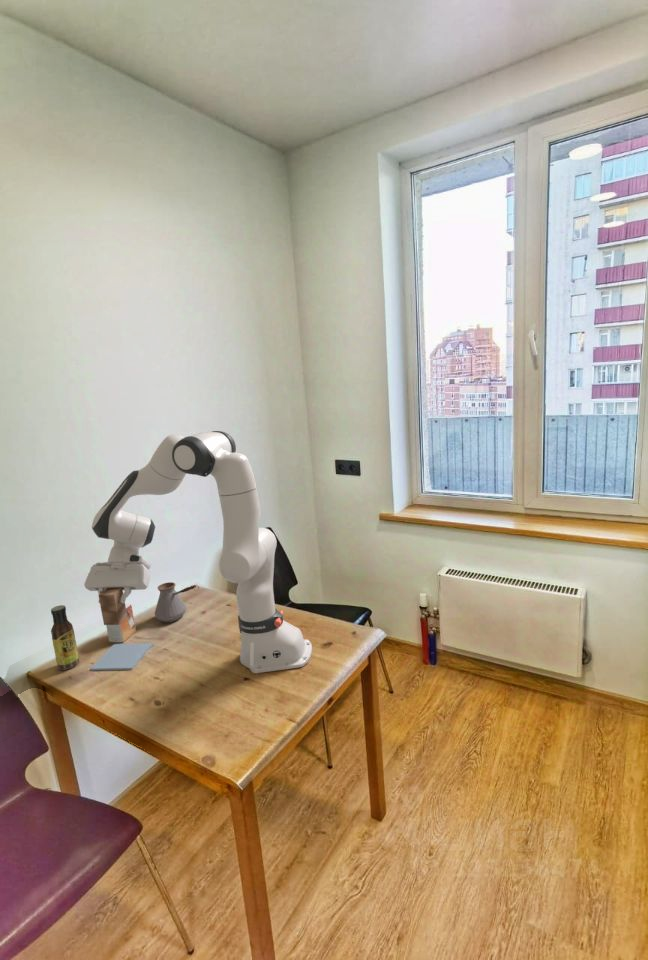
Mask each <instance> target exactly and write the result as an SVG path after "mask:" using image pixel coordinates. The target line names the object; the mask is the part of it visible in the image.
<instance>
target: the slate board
mask: <svg viewBox="0 0 648 960" xmlns="http://www.w3.org/2000/svg"><path fill="white" fill-rule="evenodd" d="M153 645H154V643H153V642H150V643H149V642H148V643H147V642H145V643H141V642H140V643H114V644H113V645H112V646H111V647H109V648H108V650H106V651H105V653H104V654H102V655H101V657H100V658H99V659H98V660H97V661H96V662H95V663H94V664H93V665H92V666H91V667H90V668H89V671H122V670H123V671H124V670H125V671H127V670H128V671H130V670H133V669H134V668H135V667H136V666H137V665H138V663H139V662H140V661H141V660H142V659H143V658H144V656H145V655H146V654H147V653H148V652H149V651H150V649H151V648H152V647H153Z"/></svg>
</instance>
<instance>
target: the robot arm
mask: <svg viewBox="0 0 648 960" xmlns="http://www.w3.org/2000/svg"><path fill="white" fill-rule="evenodd" d="M236 449H237V445H236V442H235V440H234V438H233V436H231V435H230V434H229V433H227V432H225V431H221V430H213V431H209V432H208V431H207V432H199V433H195V434H192V435H190V436H184V435H180V434H169V435H168V436H166V437H165V438H164V439H163V440H162V441H161V442H160V444H159V445H158V447H157V448H156V449H155V451H154V453H153V454H152V457H151V458H150V460H149V461H148V464H146V465H145V466H144V467H142V468H141V469H140V468H139V469H138V470H133V471H131V472H130V473H129V474H128V475H127V476H126V477H125V479H123V481H122V482H121V484H120V485H119V486H118V487H117V489H116V490H115V491H114V492H113V494H112V495H111V497H110V498H109V499H108V500H107V502H106V503H105V504H104V505H103V506H102V507H100V509H99V510H98V511H97V513H96V514H95V516H94V518H93V520H92V525H91V529H92V531H93V533H94V535H96V536H97V537H98V538H99V539H100V538H101V539H106V540H112V541H113V546H112V547H111V549H110V551H109V555H108V558H107V561H105V562H96V563H94V564H92V565H91V567H90V570H89V572H88V574H87V576H86V579H85V582H84V587H85V589H86V590H88V591H89V592H97V593H98V595H100V594H101V593H102V592H103V591H105V590H106V589H107V588H122V589H123V595H122V596H119V599H118V602H119V603H125V604H126V600H127V598H128V597H129V596H130V595H131V593H132V591H135V590H137V591H139V590H140V591H141V590H147V588H148V587H149V585H150V580H151V570H150V569H151V565H152V564H151V562H150V561H149V560H147V559H146V558H145V557H144V556H142V555H140V553H139V551H140V549H142V548H144V547H146V546H148V545H150V544H151V543H152V541H153V537H154V535H155V529H156V525H155V523H154V520H153V519H152V518H149V517H146V516H143V515H140V514H135V513H132V512H129V511H125V510H122V509H123V507H124V506H125V504H126V503H127V502H128V501H129V500H130V499H131V498H132V497H136V496H142V495H145V496H146V495H151V496H153V495H154V496H161V495H167V494H170V493H173V492H174V491H176V490H177V489H178V488H179V487H180V485H181V484H182V482H183V480H184V478H185V476H186V474H187V475H193V476H194V475H195V476H200V477H204V478H206V477H208V476H209V475H211V476H212V477H213V478H214V480H215V482H216V485H217V487H216V488H217V491H218V497H219V503H220V508H221V512H222V513H221V514H222V520H223V537H222V549H221V550H222V551H221V555H220V559H219V561H218V568H219V571H220V574H221V575H222V577H223V578H224V579H225V580H227V581H228V582H229V583H233V584H237V588H236V603H237V610H238V615H237V618H238V619H237V621H238V630H239V632H240V637H241V638H240V639H241V640H240V641H241V642H240V643H241V644H240V646H241V647H240V655H239V662H240V664H242V665H243V666H244V667H246V668H248V669H249V671H250V672H251V673H253V674H260V673H267V672H276V671H283V670H288V669H289V670H290V669H297V668H302V667H305V666H306V664H308V662H309V661H310V660H311V657H312V654H313V646H312V642H311V641H310V640H309V639H304V635H303V632H302V631H301V629H300V628H299V627H296V626H294V625H292V624H291V623H289V622H287V621H286V620H284V616H283V615H284V612H283V609H281V610H280V611H279V610H278V609H277V608H276V604H275V595H274V594H275V593H274V573H275V572H274V571H275V569H274V568H275V555H276V554H275V553H276V549H277V545H278V544H277V543H278V542H277V537H276V536H275V533H273V532H272V531H271V530H270V529H269V528H266V527H260V521H261V517H262V509H261V502H260V497H259V493H258V488H257V483H256V482H257V481H256V479H255V474H254V471H253V468H252V465H251V463H250V460H249V459H248V456H246V455H245V454H243V453H240V452H236V451H237V450H236ZM98 603H99V604H100V601H99V600H98Z"/></svg>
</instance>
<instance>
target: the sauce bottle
mask: <svg viewBox="0 0 648 960" xmlns="http://www.w3.org/2000/svg"><path fill="white" fill-rule="evenodd" d="M66 610H67V608H66V606H65V605H62V604H61V605H56V606H54V607H52V608H51V609H50V613H51V616H52V619H53V620H52V622H53V624H52V627H51V630H50V633H51V640H52V644H53V645H52V646H53V650H54V656H55V660H56V661H55V662H56V665H57V669H58V670H60V671H65V670H70V669H72V668H75V667H77V665H78V664H79V663H80V660H79V651H78V647H77V641H76V636H75V630H74V625H73V624H72V623H71V622H70V621H69V620H68V617H67V611H66Z"/></svg>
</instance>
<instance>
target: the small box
mask: <svg viewBox="0 0 648 960" xmlns="http://www.w3.org/2000/svg"><path fill="white" fill-rule="evenodd" d="M125 606H126V612H127V618H126V619H125V620H124V621H123V622H122V623H120V624H119V625H105V626H106V632H107V637H108V641H109V643H125V641H126V640H127V639H128V638H130V637H131V636H132V635H133V634H134V633H135V632H137V629H136V624H135V618H134V611H133V608H132V607H133V606H132V604H130V603H129V604H126V603H125Z"/></svg>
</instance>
